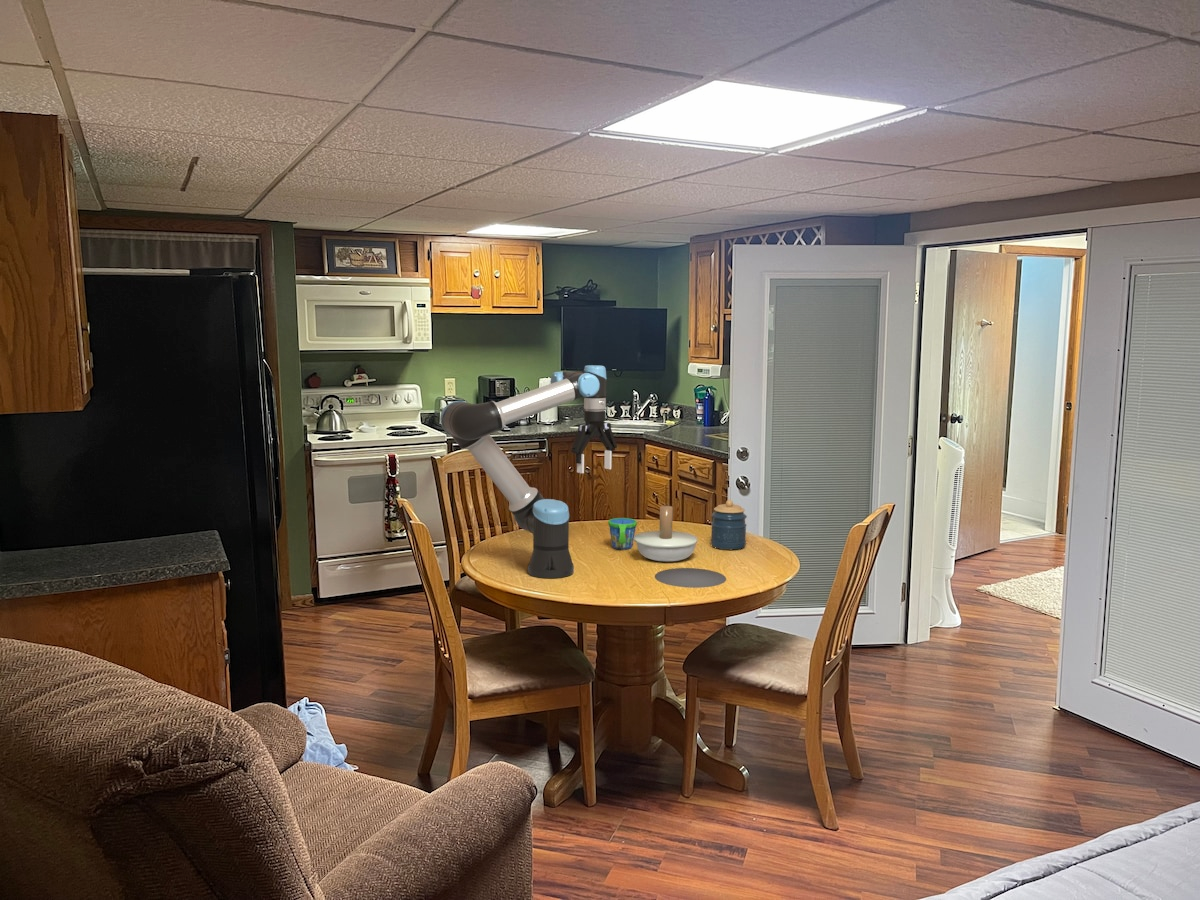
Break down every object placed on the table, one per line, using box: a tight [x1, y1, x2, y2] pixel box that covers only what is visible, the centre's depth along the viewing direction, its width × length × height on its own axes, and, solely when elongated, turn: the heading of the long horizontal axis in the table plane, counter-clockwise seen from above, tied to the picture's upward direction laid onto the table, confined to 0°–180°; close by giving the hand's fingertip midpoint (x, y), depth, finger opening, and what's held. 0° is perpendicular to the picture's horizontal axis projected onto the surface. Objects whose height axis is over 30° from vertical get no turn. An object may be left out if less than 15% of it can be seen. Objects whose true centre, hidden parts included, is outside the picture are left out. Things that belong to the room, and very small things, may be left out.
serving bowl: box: [636, 543, 697, 563], centre depth 309 cm, size 21×21×7 cm
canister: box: [710, 499, 748, 550], centre depth 328 cm, size 13×13×18 cm
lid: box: [633, 505, 698, 548], centre depth 308 cm, size 22×22×12 cm
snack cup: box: [607, 517, 638, 550], centre depth 325 cm, size 16×10×10 cm
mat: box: [654, 567, 727, 589], centre depth 284 cm, size 23×23×1 cm
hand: (594, 470), depth 308 cm, fingers open, 13 cm apart
